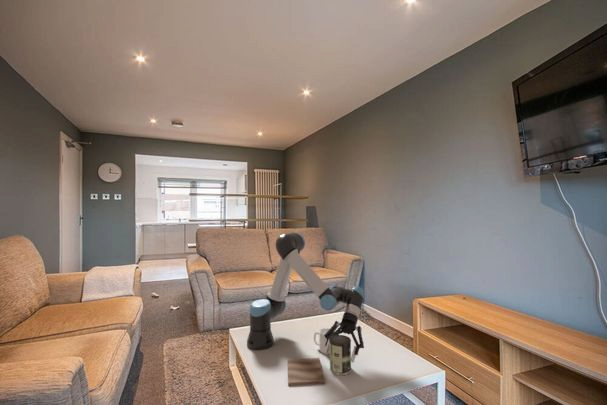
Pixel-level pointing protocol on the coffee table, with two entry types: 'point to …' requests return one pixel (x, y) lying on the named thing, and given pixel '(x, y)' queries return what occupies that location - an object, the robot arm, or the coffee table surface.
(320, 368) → the walnut board
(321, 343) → the cup
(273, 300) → the robot arm
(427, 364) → the coffee table surface
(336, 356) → the coffee can
